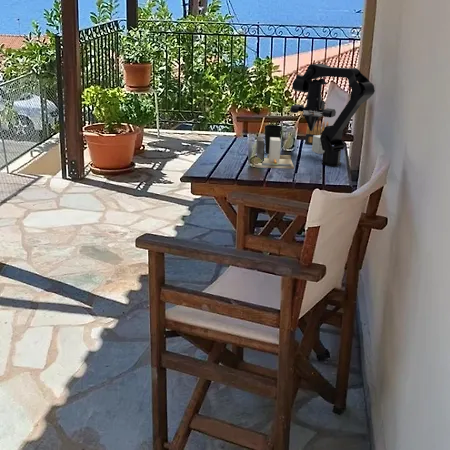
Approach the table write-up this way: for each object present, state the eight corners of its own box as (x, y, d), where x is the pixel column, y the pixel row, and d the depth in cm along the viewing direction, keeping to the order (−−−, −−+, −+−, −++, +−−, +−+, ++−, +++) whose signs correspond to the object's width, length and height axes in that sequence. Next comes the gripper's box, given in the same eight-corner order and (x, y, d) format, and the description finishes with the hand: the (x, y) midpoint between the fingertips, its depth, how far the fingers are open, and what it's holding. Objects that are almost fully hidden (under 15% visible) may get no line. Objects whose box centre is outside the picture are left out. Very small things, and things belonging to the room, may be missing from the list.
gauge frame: (290, 161, 274) (292, 138, 270) (293, 168, 262) (295, 144, 259) (253, 159, 274) (254, 136, 270) (254, 167, 262) (256, 143, 258)
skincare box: (318, 154, 288) (319, 138, 286) (311, 151, 293) (312, 135, 291) (329, 153, 290) (331, 137, 288) (323, 150, 296) (324, 134, 293)
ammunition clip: (304, 144, 306) (306, 119, 302) (305, 143, 308) (307, 118, 304) (326, 147, 302) (329, 121, 298) (327, 146, 304) (330, 121, 300)
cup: (274, 156, 281) (276, 128, 277) (259, 152, 286) (261, 126, 282) (283, 153, 287) (285, 126, 283) (269, 150, 291) (271, 123, 287)
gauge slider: (278, 158, 272) (279, 137, 269) (280, 164, 263) (281, 143, 259) (268, 158, 272) (270, 137, 269) (270, 164, 262) (272, 142, 259)
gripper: (341, 94, 273) (338, 130, 279) (301, 89, 282) (298, 125, 287) (332, 97, 264) (329, 135, 270) (291, 92, 273) (288, 129, 278)
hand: (311, 130), depth 276 cm, fingers closed
